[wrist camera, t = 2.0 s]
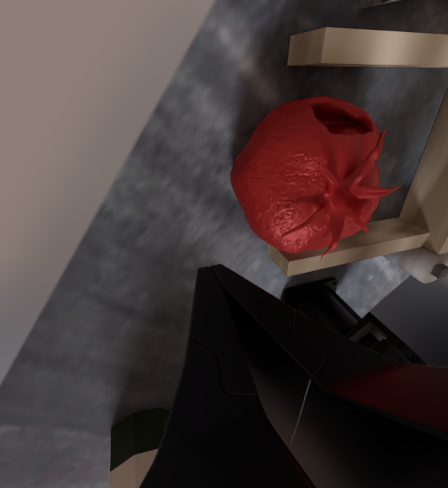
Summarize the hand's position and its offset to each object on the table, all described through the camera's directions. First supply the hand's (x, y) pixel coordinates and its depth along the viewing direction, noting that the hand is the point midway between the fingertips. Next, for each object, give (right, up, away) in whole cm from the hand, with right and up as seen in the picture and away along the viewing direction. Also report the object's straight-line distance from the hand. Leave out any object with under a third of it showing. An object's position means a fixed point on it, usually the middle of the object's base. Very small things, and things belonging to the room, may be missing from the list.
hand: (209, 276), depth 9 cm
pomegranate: (+5, +7, +11) cm, 14 cm away
